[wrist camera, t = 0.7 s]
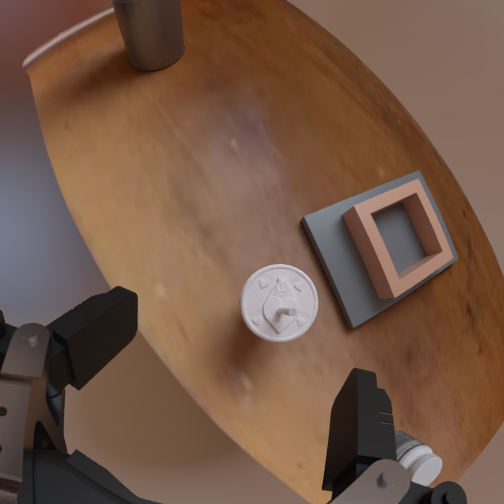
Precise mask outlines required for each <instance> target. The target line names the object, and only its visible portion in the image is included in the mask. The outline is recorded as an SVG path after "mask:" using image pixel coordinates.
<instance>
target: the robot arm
mask: <svg viewBox="0 0 504 504" xmlns="http://www.w3.org/2000/svg"><path fill="white" fill-rule="evenodd" d="M112 4H113V7H114V11H115V14H116V18H117V21H118V25H119V28H120V31H121V35H122V38H123V41H124V44H125V48H126V51H127V54H128V57H129V60H130V63H131V65H132V66H133V67H134V68H136V69H139V70H143V71H153V70H158V69H162V68H165V67H167V66H170V65H171V64H173V63H175V62H176V61H177V60H179V59H180V57H181V56H182V55H183V53H184V50H185V46H184V36H183V25H182V14H181V3H180V0H112ZM137 327H138V297H137V294H136V293H134V292H132V291H130V290H128V289H125V288H123V287H121V286H117V287H115V288H113V289H112V290H110V291H109V292H107V293H106V294H105V293H102V294H98V295H95V296H92V297H90V298H88V299H87V300H85V301H84V302H82V304H79V305H78V306H76V307H74V309H71V310H70V311H68V312H67V313H65V314H64V315H62V316H61V317H59V318H58V319H56V320H54V321H53V322H52V323H50V324H48V325H47V326H43V325H41V324H38V323H28V324H25V325H22V326H20V327H19V328H17V327H14V326H11V325H9V324H6V323H5V320H4V316H3V313H2V311H1V310H0V504H161V503H157V502H153V501H149V500H145V499H142V498H139V497H137V496H136V495H134V494H133V493H132V492H131V491H130V490H129V489H127V488H126V487H125V486H124V485H123V484H122V483H121V482H120V481H118V480H117V479H116V478H115V477H114V476H113V475H112V474H111V473H110V472H109V471H108V470H107V469H105V468H104V467H102V466H101V465H99V464H97V463H96V462H94V461H93V460H91V459H90V458H88V457H87V456H86V455H84V454H83V453H81V452H80V451H78V450H77V449H76V450H75V451H74V452H73V453H72V455H70V454H68V453H67V447H66V443H65V439H64V407H65V387H66V386H67V385H68V384H70V385H72V386H73V387H75V388H76V389H77V390H80V389H81V388H82V387H83V386H85V385H86V384H87V383H88V382H89V380H91V379H92V378H93V377H94V376H95V375H96V374H97V373H98V372H99V371H100V370H101V369H102V368H103V367H104V366H105V365H106V364H108V363H109V362H110V361H111V360H112V359H113V358H114V357H115V356H116V355H117V354H118V353H119V352H120V351H121V350H122V349H124V348H125V347H126V346H127V345H128V344H129V343H130V342H131V341H132V340H133V338H134V337H135V335H136V332H137ZM393 423H394V422H393V415H392V406H391V400H390V399H389V397H388V395H387V393H386V392H385V390H384V389H380V388H377V380H376V374H375V372H371V371H367V370H363V369H358V368H353V369H352V371H351V372H350V374H349V376H348V378H347V379H346V381H345V383H344V385H343V386H342V388H341V390H340V392H339V393H338V395H337V397H336V399H335V401H334V403H333V406H332V410H331V418H330V429H329V438H328V447H327V455H326V463H325V470H324V477H323V484H322V490H326V491H332V498H331V500H330V501H329V502H328V503H326V504H467V499H466V494H465V492H464V490H463V489H462V487H461V486H460V485H458V484H457V483H455V482H451V481H445V482H442V483H440V484H439V485H437V486H436V487H435V488H429V487H426V486H423V485H421V484H418V483H415V482H413V481H411V480H410V476H409V474H408V472H407V470H406V469H405V468H404V466H402V465H401V464H400V463H398V462H397V452H396V441H395V431H394V425H393Z"/></svg>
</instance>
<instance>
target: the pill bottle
mask: <svg viewBox="0 0 504 504" xmlns="http://www.w3.org/2000/svg"><path fill="white" fill-rule="evenodd" d="M394 431H395V441H396V452H397V462H398V463H400V464H401V465H402V466H404V468H405V469H406V470H407V472H408V474H409V476H410V480H411V481H413V482H415V483H418V484H421V485H423V486H427V485H429V484H430V483H431V482H432V481H433V480H434V479H435V478H436V477H437V476H438V474H439V472H440V470H441V468H442V460H441V459H440V458H439V457H438V456H436V455H435V454H433V452H432V450H431V448H430V447H428V446H427V445H425V444H423V443H422V442H420V441H418V440H416V439H415V438H413V437H412V436H410V435H408V434H407V433H405V432H403V431H401V430H394Z"/></svg>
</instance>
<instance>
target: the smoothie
mask: <svg viewBox="0 0 504 504" xmlns="http://www.w3.org/2000/svg"><path fill="white" fill-rule="evenodd" d="M317 310H318V296H317V292H316V289H315V286H314V284H313V283H312V281H311V280H310V278H309V277H308V276H307V275H306V274H305V273H304V272H302V271H301V270H299V269H297V268H295V267H293V266H290V265H284V264H275V265H270V266H267V267H264V268H261V269H260V270H258V271H257V272H255V273H254V274H252V276H251V277H250V278H249V279H248V280H247V281H246V283H245V285H244V287H243V289H242V291H241V296H240V312H241V315H242V318H243V321H244V322H245V324H246V325H247V327H248V328H249V329H250V330H251V331H252V332H253V333H254V334H255V335H257V336H258V337H260V338H263V339H265V340H267V341H271V342H287V341H291V340H294V339H296V338H298V337H300V336H301V335H303V334H304V333H305V332H306V331H307V330H308V329H309V328H310V326H311V325H312V323H313V322H314V320H315V317H316V314H317Z"/></svg>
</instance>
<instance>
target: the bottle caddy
mask: <svg viewBox="0 0 504 504" xmlns="http://www.w3.org/2000/svg"><path fill="white" fill-rule="evenodd" d="M301 222H302V224H303V226H304V228H305V230H306V232H307V234H308V236H309V239H310V241H311V243H312V245H313V247H314V249H315V251H316V254H317V256H318V258H319V260H320V262H321V265H322V267H323V269H324V271H325V274H326V276H327V278H328V280H329V283H330V285H331V287H332V289H333V292H334V294H335V296H336V299H337V301H338V303H339V306H340V308H341V310H342V313H343V315H344V318H345V320H346V322H347V325H348V327H350V328H355V327H357V326H358V325H360V324H362V323H363V322H365V321H367V320H368V319H370V318H372V317H373V316H375V315H377V314H378V313H380V312H381V311H383V310H385V309H386V308H388V307H389V306H391V305H393V304H394V303H396V302H397V301H399V300H400V299H402V298H403V297H405V296H406V295H408V294H409V293H411V292H412V291H414V290H415V289H417V288H418V287H420V286H421V285H423V284H424V283H426V282H427V281H428V280H430V279H431V278H433V277H434V276H435V275H437V274H438V273H440V272H441V271H442V270H444V269H445V268H446V267H448V266H449V265H450V264H452V263H453V262H454V261H456V260H457V259H458V256H457V253H456V250H455V248H454V245H453V242H452V240H451V237H450V235H449V233H448V230H447V228H446V225H445V223H444V221H443V218H442V216H441V214H440V212H439V210H438V207H437V205H436V203H435V201H434V199H433V197H432V195H431V193H430V191H429V189H428V187H427V185H426V183H425V181H424V179H423V177H422V175H421V173H420V171H416V172H413V173H411V174H408V175H406V176H403V177H401V178H398V179H396V180H393V181H391V182H388V183H386V184H383V185H381V186H378V187H376V188H373V189H371V190H368V191H366V192H363V193H361V194H358V195H356V196H353V197H351V198H348V199H346V200H344V201H341V202H339V203H336V204H334V205H331V206H329V207H326V208H324V209H321V210H319V211H317V212H314V213H312V214H309V215H307V216H304V217H303V218H302V219H301Z"/></svg>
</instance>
